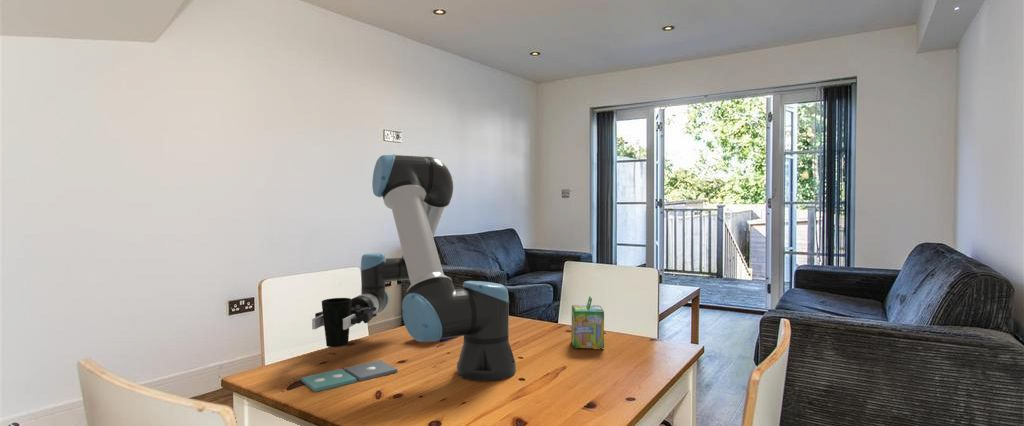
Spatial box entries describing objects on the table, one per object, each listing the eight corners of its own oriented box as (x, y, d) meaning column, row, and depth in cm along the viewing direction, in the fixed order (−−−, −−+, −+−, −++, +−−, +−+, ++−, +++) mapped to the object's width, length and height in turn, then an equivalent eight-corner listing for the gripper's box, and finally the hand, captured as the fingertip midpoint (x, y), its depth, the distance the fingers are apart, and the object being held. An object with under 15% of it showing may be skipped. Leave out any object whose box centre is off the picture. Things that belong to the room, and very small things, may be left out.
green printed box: (571, 341, 159) (570, 294, 158) (600, 341, 158) (600, 294, 158) (573, 349, 149) (573, 300, 149) (604, 349, 149) (604, 300, 149)
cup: (358, 342, 138) (357, 298, 138) (337, 349, 131) (337, 303, 131) (336, 339, 141) (336, 297, 141) (315, 346, 134) (315, 301, 134)
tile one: (397, 372, 130) (397, 368, 130) (360, 381, 124) (360, 377, 124) (380, 362, 138) (380, 359, 138) (344, 370, 131) (344, 367, 131)
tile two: (356, 382, 123) (356, 378, 123) (315, 392, 117) (315, 388, 117) (340, 371, 131) (340, 368, 131) (301, 380, 124) (300, 377, 124)
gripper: (395, 319, 153) (367, 338, 131) (330, 319, 155) (291, 338, 132) (394, 295, 153) (366, 310, 131) (329, 295, 155) (291, 309, 132)
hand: (329, 324), depth 131 cm, fingers closed on cup, 8 cm apart
